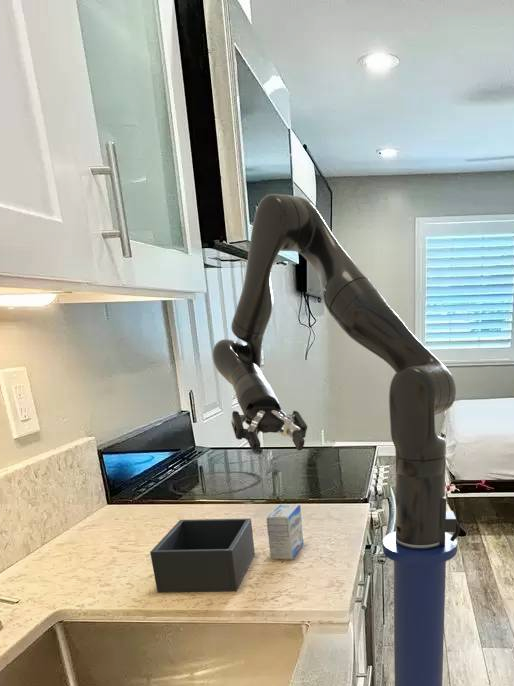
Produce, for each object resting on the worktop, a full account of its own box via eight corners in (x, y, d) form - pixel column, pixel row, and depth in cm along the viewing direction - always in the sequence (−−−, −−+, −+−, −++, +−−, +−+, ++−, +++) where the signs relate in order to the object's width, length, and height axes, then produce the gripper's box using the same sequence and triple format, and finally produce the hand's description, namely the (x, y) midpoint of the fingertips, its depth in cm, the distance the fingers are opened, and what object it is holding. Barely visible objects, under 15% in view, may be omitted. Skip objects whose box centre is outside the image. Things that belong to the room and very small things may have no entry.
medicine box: (292, 560, 108) (289, 517, 105) (270, 559, 109) (265, 516, 106) (303, 544, 115) (301, 504, 112) (282, 543, 116) (279, 503, 113)
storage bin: (254, 554, 111) (250, 518, 108) (236, 591, 97) (231, 550, 94) (185, 556, 111) (180, 519, 109) (157, 593, 97) (149, 552, 94)
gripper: (224, 383, 113) (245, 432, 103) (292, 384, 119) (318, 430, 110) (221, 414, 118) (241, 464, 108) (286, 414, 124) (310, 461, 115)
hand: (279, 447), depth 109 cm, fingers open, 8 cm apart
